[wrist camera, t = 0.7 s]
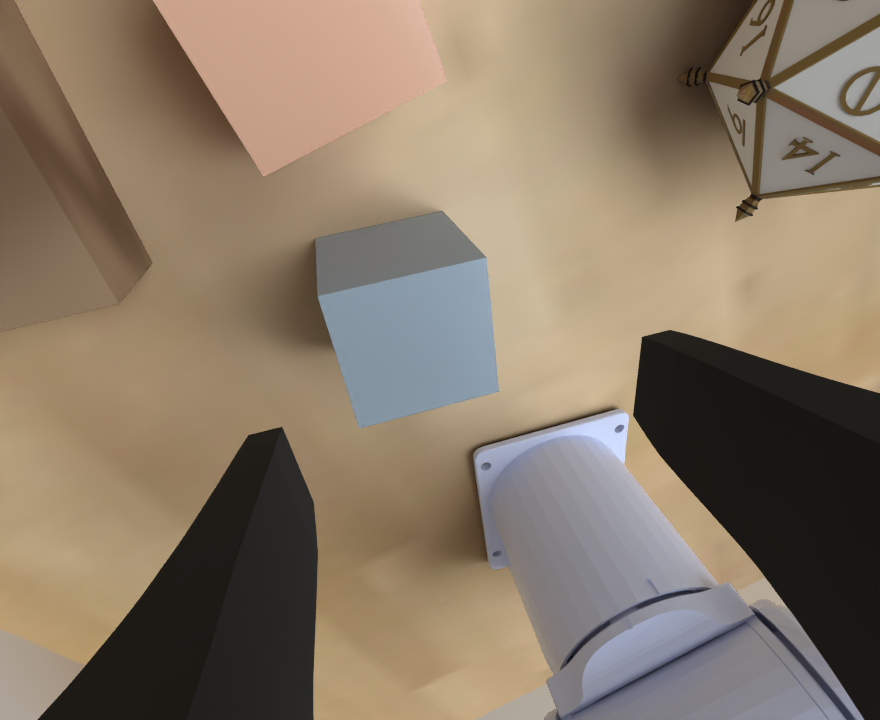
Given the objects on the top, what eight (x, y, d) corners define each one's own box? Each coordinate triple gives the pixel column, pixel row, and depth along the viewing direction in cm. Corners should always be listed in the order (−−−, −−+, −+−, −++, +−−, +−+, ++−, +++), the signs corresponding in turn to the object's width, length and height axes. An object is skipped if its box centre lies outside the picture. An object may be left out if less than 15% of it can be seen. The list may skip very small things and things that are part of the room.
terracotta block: (407, 76, 14) (447, 80, 10) (276, 145, 14) (263, 176, 10) (330, -116, 12) (343, -215, 8) (172, -31, 12) (101, -82, 8)
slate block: (457, 321, 19) (499, 391, 15) (347, 348, 19) (359, 428, 14) (442, 210, 17) (486, 257, 13) (315, 237, 16) (317, 296, 12)
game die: (675, 117, 21) (724, 320, 17) (647, -107, 14) (719, 141, 10) (956, 13, 17) (1114, 247, 12) (1112, -378, 10) (1565, -145, 6)
